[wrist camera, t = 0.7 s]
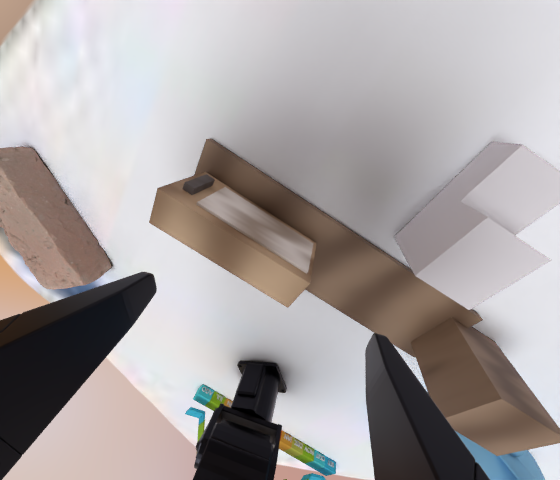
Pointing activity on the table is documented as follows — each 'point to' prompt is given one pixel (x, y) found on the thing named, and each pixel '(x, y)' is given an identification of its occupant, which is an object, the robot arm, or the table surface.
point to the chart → (286, 441)
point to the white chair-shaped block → (482, 225)
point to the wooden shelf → (404, 317)
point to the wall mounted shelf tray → (236, 235)
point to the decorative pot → (504, 463)
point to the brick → (46, 223)
